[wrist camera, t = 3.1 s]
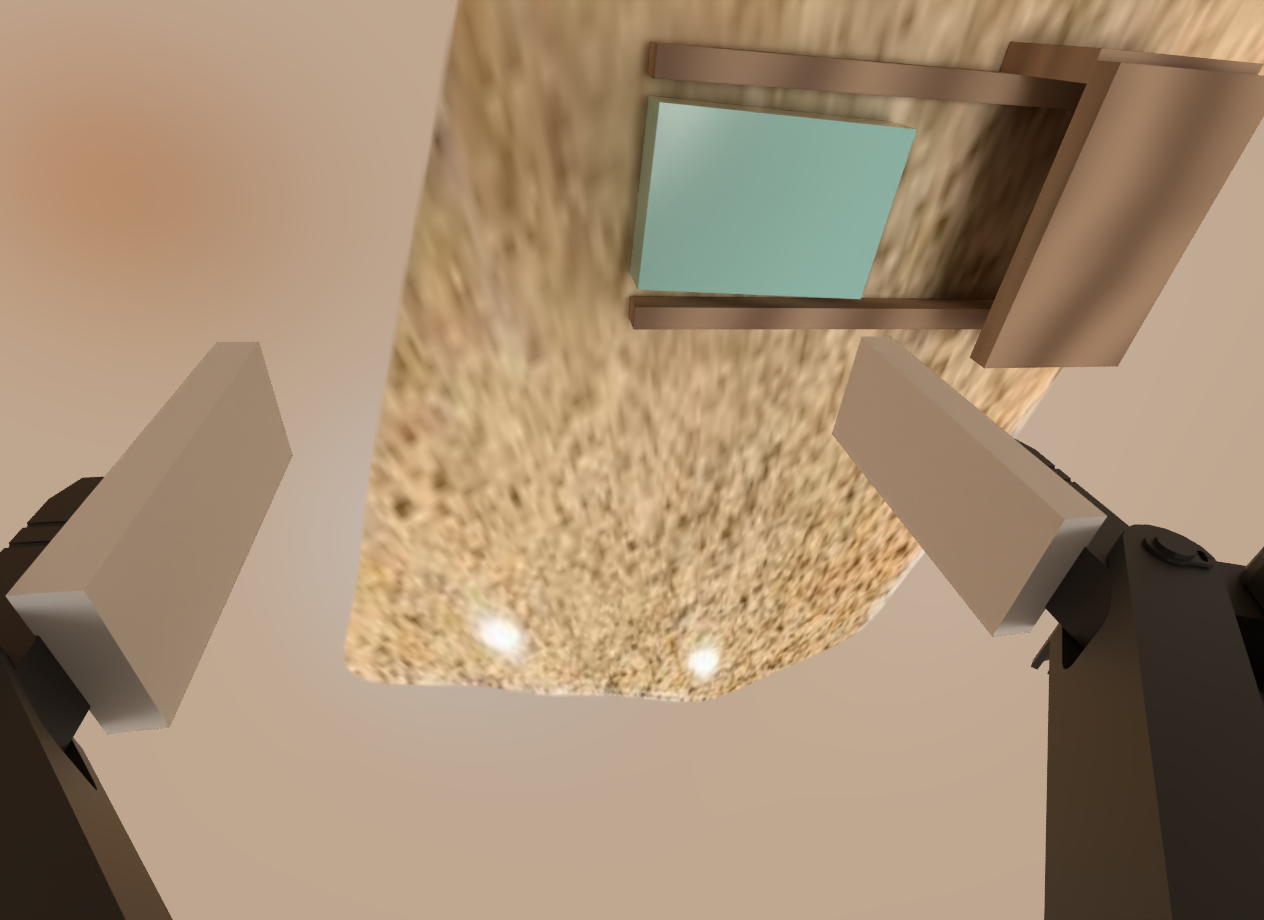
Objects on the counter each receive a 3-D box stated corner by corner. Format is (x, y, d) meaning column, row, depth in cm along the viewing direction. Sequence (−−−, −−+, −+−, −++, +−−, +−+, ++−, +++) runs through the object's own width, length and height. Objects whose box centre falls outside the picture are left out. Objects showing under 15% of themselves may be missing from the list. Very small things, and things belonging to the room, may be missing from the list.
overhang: (628, 317, 34) (653, 376, 28) (652, 7, 26) (693, 7, 20) (1029, 318, 38) (1115, 369, 33) (1153, 55, 30) (1292, 66, 25)
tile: (628, 270, 33) (637, 289, 30) (646, 94, 28) (659, 102, 26) (837, 280, 35) (860, 299, 33) (886, 120, 30) (916, 129, 28)
